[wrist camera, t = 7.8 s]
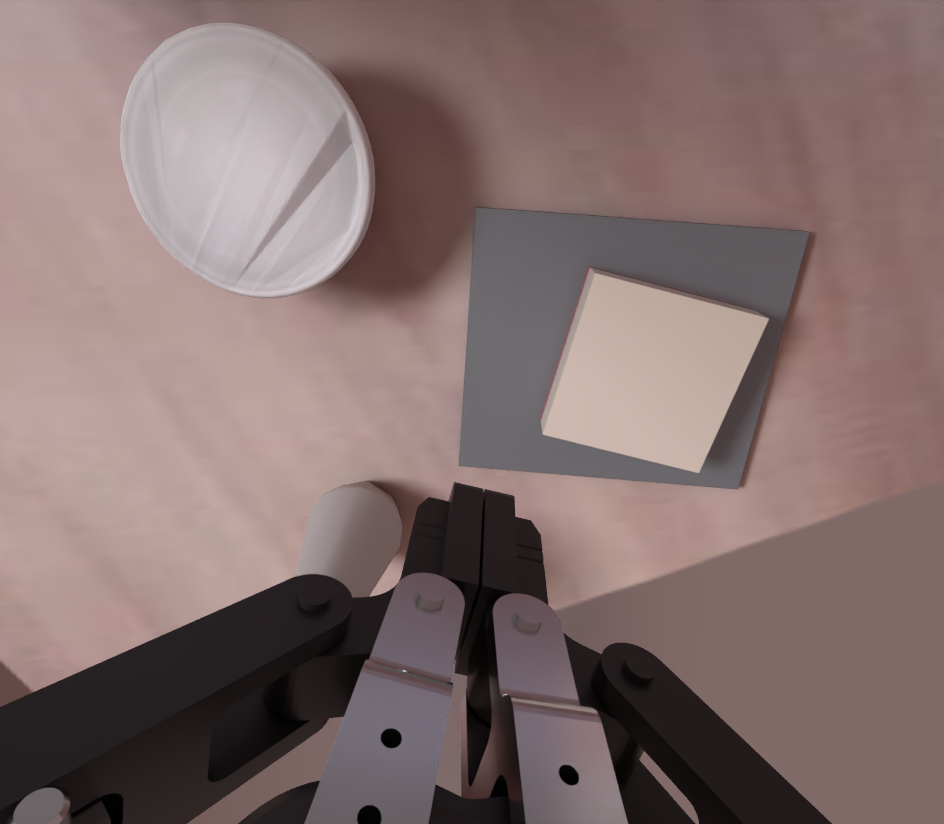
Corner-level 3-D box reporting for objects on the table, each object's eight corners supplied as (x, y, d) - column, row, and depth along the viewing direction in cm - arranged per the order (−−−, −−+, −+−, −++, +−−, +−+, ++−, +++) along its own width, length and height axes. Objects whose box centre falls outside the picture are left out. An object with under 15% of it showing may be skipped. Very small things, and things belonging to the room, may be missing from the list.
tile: (542, 434, 32) (698, 473, 32) (595, 273, 28) (769, 318, 29) (540, 417, 34) (686, 453, 34) (588, 265, 31) (750, 308, 31)
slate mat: (476, 206, 30) (475, 207, 30) (804, 230, 30) (809, 232, 29) (459, 461, 36) (458, 465, 35) (734, 484, 36) (738, 489, 35)
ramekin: (383, 294, 32) (362, 316, 28) (186, 264, 32) (129, 280, 27) (402, 66, 28) (381, 44, 23) (175, 31, 28) (105, 1, 23)
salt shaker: (405, 468, 36) (356, 614, 24) (412, 545, 39) (369, 712, 27) (314, 469, 37) (221, 613, 25) (325, 544, 39) (246, 710, 27)
